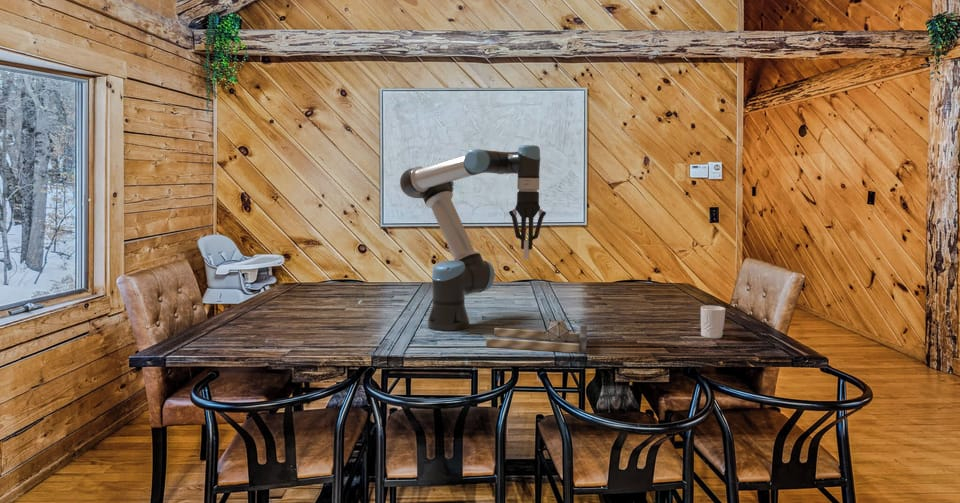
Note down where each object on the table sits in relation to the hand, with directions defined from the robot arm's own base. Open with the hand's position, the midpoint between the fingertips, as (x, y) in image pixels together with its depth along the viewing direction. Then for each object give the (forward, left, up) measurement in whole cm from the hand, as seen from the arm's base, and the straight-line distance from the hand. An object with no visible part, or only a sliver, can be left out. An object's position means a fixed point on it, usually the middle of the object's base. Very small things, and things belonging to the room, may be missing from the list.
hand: (526, 258), depth 195 cm
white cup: (+64, +10, -26) cm, 69 cm away
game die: (+12, -14, -26) cm, 32 cm away
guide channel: (+6, -15, -26) cm, 31 cm away
